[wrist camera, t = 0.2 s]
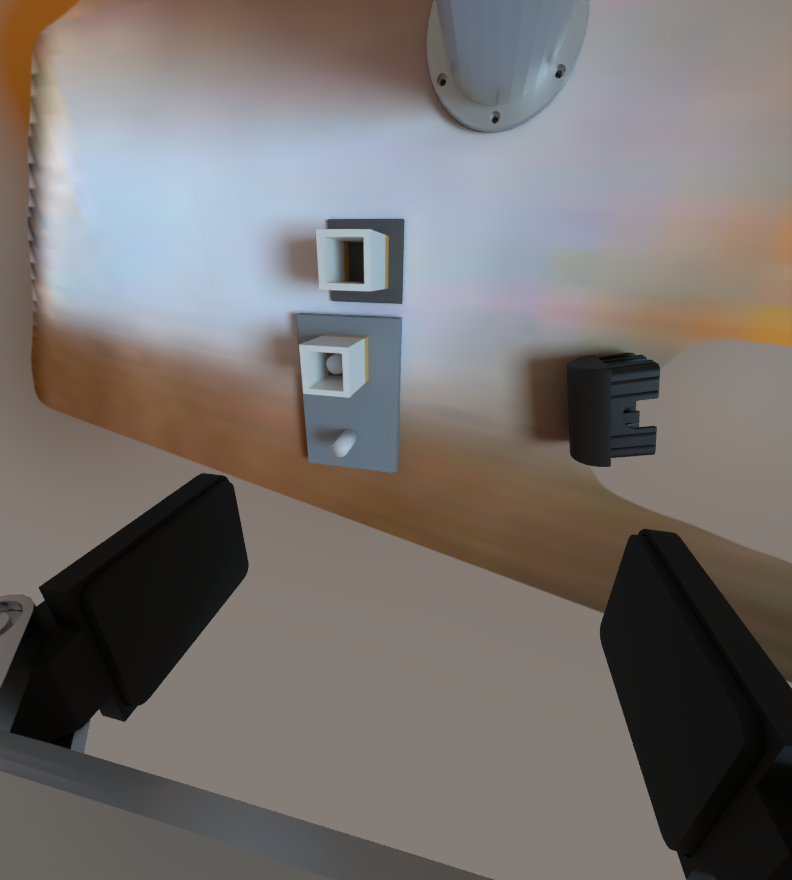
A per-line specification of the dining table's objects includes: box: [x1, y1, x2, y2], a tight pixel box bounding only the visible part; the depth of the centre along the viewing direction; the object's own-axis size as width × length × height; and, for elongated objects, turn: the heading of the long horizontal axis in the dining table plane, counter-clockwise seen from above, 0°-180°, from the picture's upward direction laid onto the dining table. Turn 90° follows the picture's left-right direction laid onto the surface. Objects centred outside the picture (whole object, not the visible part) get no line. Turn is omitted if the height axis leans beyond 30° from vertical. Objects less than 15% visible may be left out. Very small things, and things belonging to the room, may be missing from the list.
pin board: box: [296, 313, 402, 473], centre depth 45 cm, size 19×12×6 cm, turn 179°
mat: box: [328, 219, 404, 304], centre depth 40 cm, size 8×8×1 cm
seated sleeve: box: [299, 334, 369, 398], centre depth 41 cm, size 5×5×7 cm
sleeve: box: [316, 229, 389, 291], centre depth 37 cm, size 5×5×7 cm
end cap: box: [567, 353, 660, 467], centre depth 38 cm, size 10×7×7 cm
